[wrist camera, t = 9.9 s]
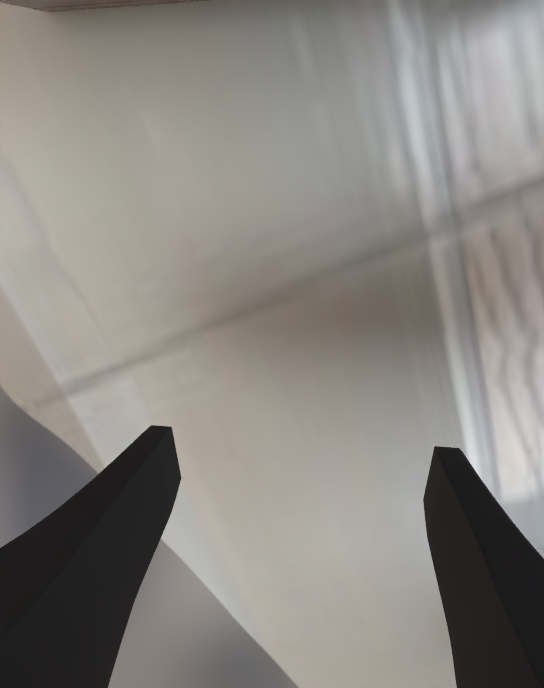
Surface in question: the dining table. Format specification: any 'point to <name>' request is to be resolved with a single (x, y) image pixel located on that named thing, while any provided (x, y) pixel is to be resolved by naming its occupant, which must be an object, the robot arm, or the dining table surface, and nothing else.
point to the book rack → (83, 4)
